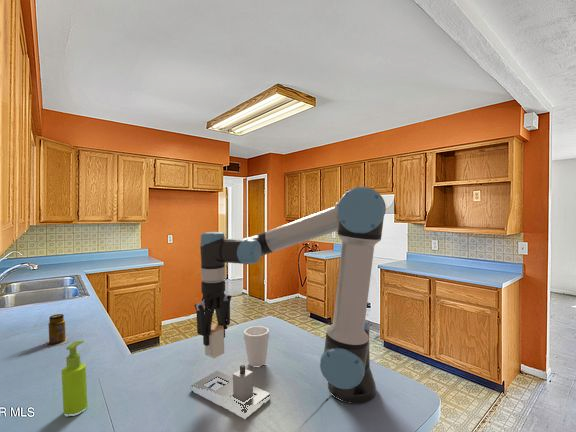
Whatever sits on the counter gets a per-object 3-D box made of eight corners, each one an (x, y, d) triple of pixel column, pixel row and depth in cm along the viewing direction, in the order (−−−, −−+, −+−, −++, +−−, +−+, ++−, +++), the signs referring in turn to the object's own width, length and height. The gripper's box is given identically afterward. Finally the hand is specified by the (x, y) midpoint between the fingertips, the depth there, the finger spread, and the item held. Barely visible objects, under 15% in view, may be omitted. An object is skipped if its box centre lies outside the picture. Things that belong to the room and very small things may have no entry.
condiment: (66, 337, 148) (65, 312, 148) (67, 342, 142) (66, 316, 141) (46, 341, 143) (45, 315, 143) (47, 347, 137) (46, 320, 136)
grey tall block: (253, 400, 96) (252, 365, 95) (243, 408, 92) (242, 371, 92) (243, 396, 98) (242, 361, 98) (233, 403, 95) (232, 367, 94)
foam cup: (246, 373, 113) (245, 337, 112) (243, 360, 121) (242, 327, 121) (272, 368, 115) (271, 334, 115) (267, 357, 124) (266, 324, 124)
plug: (215, 349, 105) (214, 323, 104) (224, 353, 102) (223, 326, 102) (205, 354, 101) (204, 327, 101) (214, 358, 99) (213, 330, 98)
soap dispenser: (93, 401, 98) (90, 338, 97) (79, 416, 91) (76, 349, 90) (74, 402, 97) (71, 339, 97) (58, 417, 91) (55, 349, 90)
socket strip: (270, 401, 96) (270, 393, 96) (245, 421, 87) (245, 413, 87) (217, 377, 110) (216, 370, 110) (191, 393, 101) (190, 385, 101)
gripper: (225, 273, 110) (226, 339, 111) (183, 284, 96) (185, 359, 97) (240, 276, 106) (241, 344, 107) (199, 287, 92) (200, 366, 93)
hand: (214, 351), depth 102 cm, fingers closed on plug, 4 cm apart
